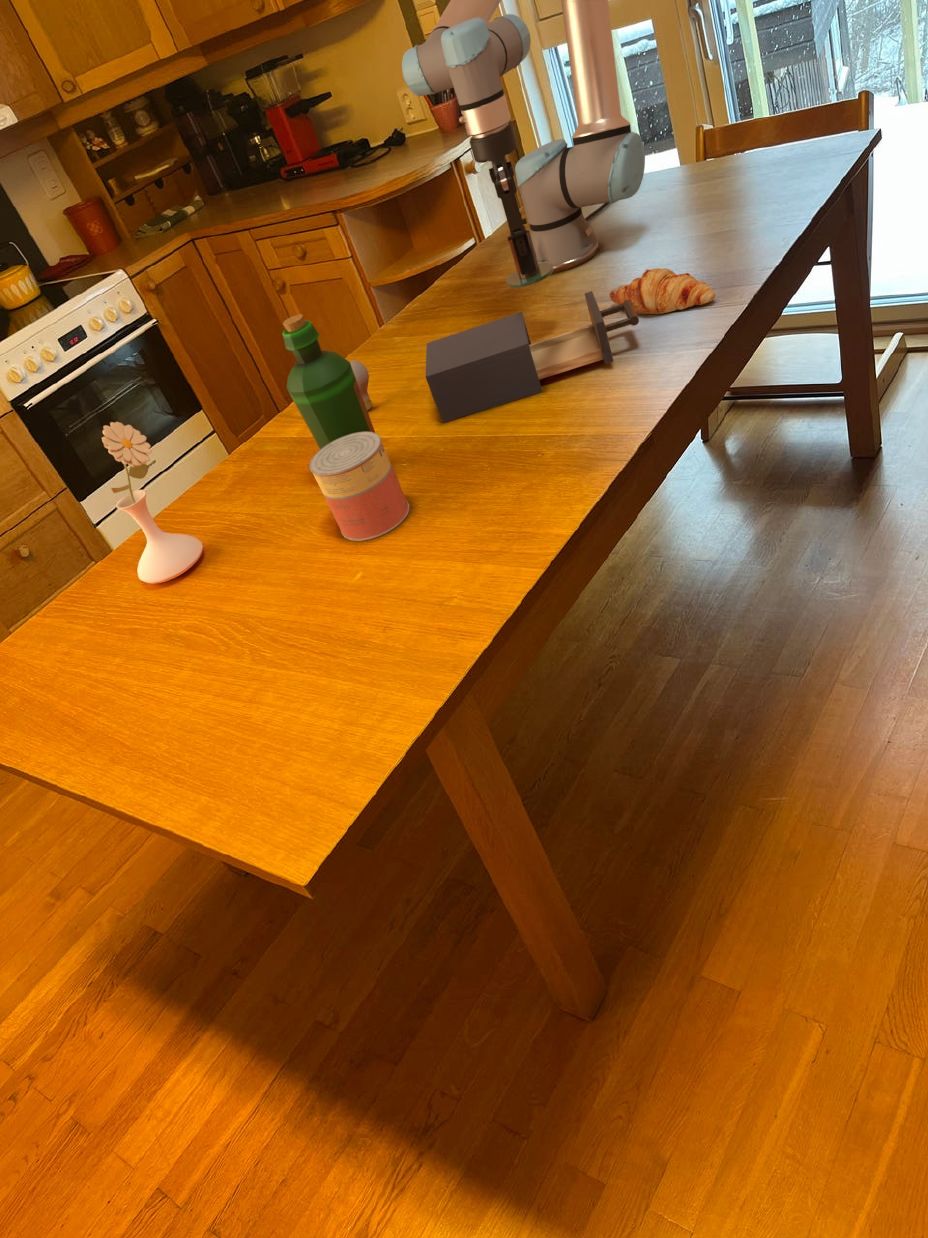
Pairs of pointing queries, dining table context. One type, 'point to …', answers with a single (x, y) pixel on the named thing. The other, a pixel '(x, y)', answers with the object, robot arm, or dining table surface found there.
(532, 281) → the lid
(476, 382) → the cabinet
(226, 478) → the dining table surface
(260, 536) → the dining table surface
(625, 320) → the drawer
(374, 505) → the canned food
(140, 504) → the flower in vase
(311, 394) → the bottle
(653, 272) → the croissant
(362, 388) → the light bulb
